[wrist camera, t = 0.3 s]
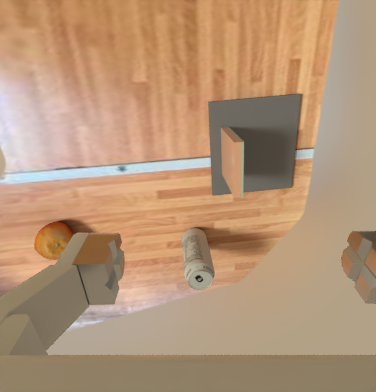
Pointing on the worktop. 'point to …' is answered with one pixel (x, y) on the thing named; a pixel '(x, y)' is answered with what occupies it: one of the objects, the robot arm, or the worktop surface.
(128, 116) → the worktop surface
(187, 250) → the energy drink can
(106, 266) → the robot arm
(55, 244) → the fruit
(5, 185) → the worktop surface
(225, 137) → the tile
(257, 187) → the mat
